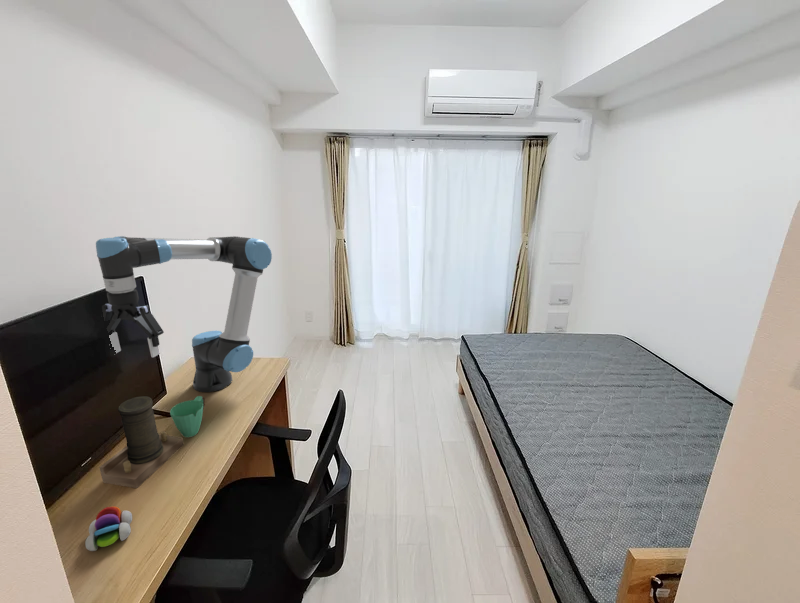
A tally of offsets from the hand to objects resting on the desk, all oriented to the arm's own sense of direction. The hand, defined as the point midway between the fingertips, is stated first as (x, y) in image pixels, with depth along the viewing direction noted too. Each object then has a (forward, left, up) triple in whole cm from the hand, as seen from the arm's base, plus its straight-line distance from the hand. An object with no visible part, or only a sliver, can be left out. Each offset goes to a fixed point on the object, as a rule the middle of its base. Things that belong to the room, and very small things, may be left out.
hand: (136, 354), depth 121 cm
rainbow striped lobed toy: (+36, +20, -31) cm, 51 cm away
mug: (-6, +11, -31) cm, 33 cm away
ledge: (+12, +8, -31) cm, 34 cm away
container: (+12, +9, -28) cm, 31 cm away
